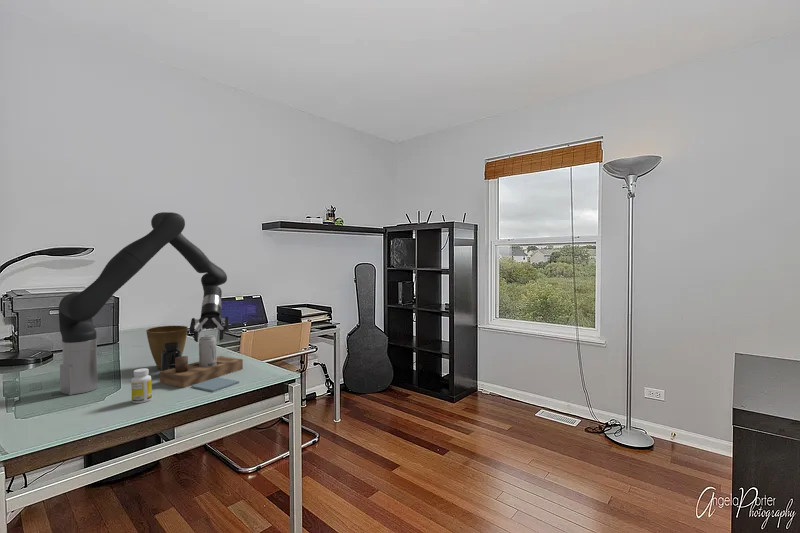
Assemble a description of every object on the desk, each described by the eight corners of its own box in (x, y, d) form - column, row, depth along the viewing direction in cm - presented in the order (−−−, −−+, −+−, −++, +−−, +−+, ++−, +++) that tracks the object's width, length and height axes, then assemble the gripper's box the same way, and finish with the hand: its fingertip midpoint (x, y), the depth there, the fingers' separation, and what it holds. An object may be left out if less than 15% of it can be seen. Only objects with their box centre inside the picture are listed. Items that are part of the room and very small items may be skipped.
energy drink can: (211, 376, 155) (211, 337, 154) (196, 376, 155) (195, 337, 155) (219, 372, 161) (218, 334, 160) (204, 372, 161) (203, 334, 161)
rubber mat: (213, 392, 137) (213, 390, 137) (191, 387, 142) (191, 385, 142) (239, 382, 147) (239, 381, 147) (217, 378, 152) (217, 377, 152)
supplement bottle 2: (172, 377, 154) (172, 345, 154) (157, 376, 156) (156, 344, 155) (185, 372, 161) (185, 341, 161) (170, 371, 162) (170, 341, 162)
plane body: (183, 387, 142) (183, 362, 141) (159, 382, 147) (159, 358, 147) (242, 369, 165) (242, 347, 165) (220, 365, 171) (219, 344, 170)
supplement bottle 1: (148, 396, 133) (147, 366, 133) (154, 400, 130) (154, 369, 129) (129, 401, 129) (128, 370, 129) (135, 404, 125) (134, 373, 125)
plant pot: (138, 370, 164) (137, 330, 163) (169, 361, 178) (168, 324, 178) (166, 373, 159) (165, 332, 159) (196, 363, 173) (196, 326, 173)
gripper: (191, 302, 167) (187, 336, 156) (229, 301, 171) (227, 333, 161) (193, 314, 172) (189, 346, 161) (230, 312, 176) (228, 344, 166)
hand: (208, 340), depth 161 cm, fingers open, 8 cm apart
